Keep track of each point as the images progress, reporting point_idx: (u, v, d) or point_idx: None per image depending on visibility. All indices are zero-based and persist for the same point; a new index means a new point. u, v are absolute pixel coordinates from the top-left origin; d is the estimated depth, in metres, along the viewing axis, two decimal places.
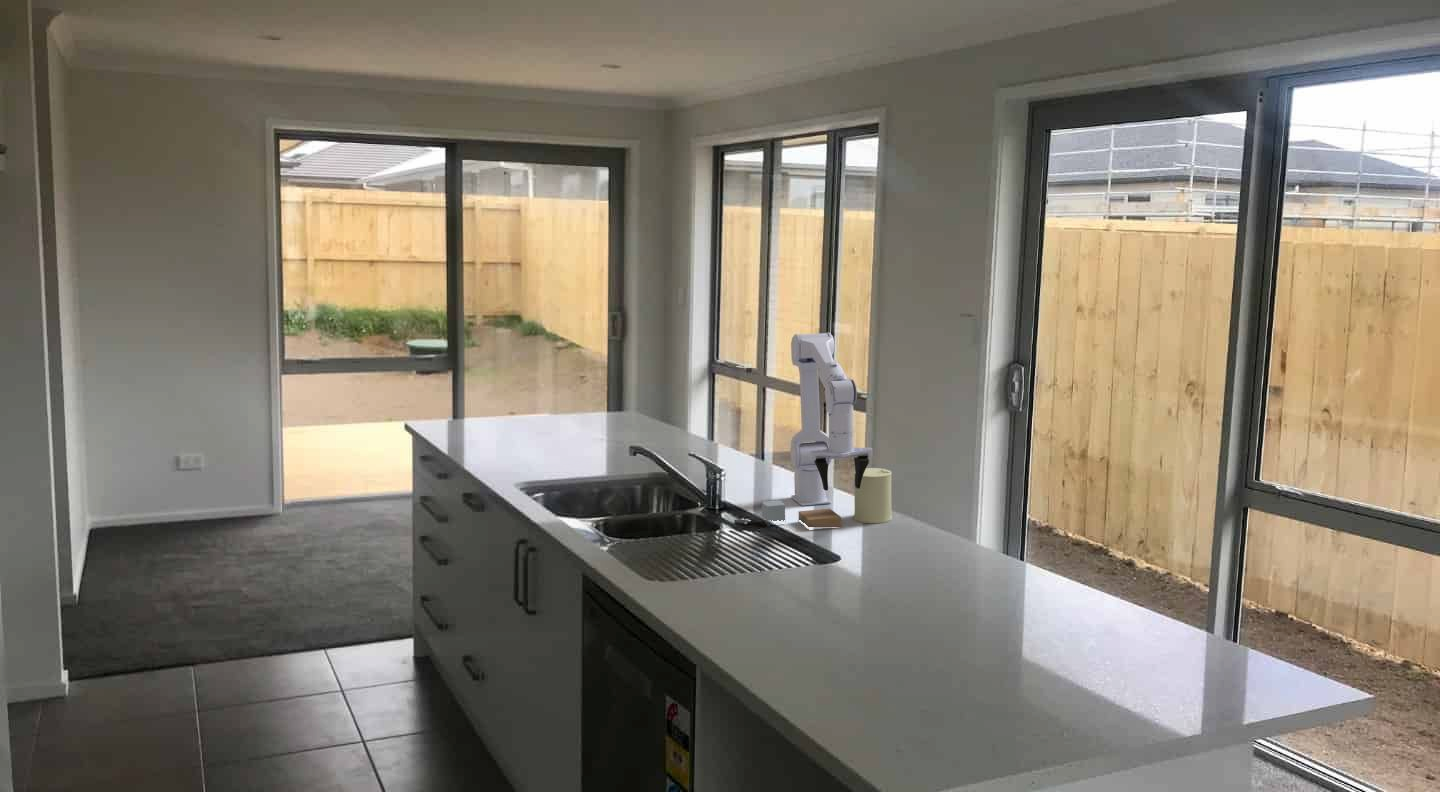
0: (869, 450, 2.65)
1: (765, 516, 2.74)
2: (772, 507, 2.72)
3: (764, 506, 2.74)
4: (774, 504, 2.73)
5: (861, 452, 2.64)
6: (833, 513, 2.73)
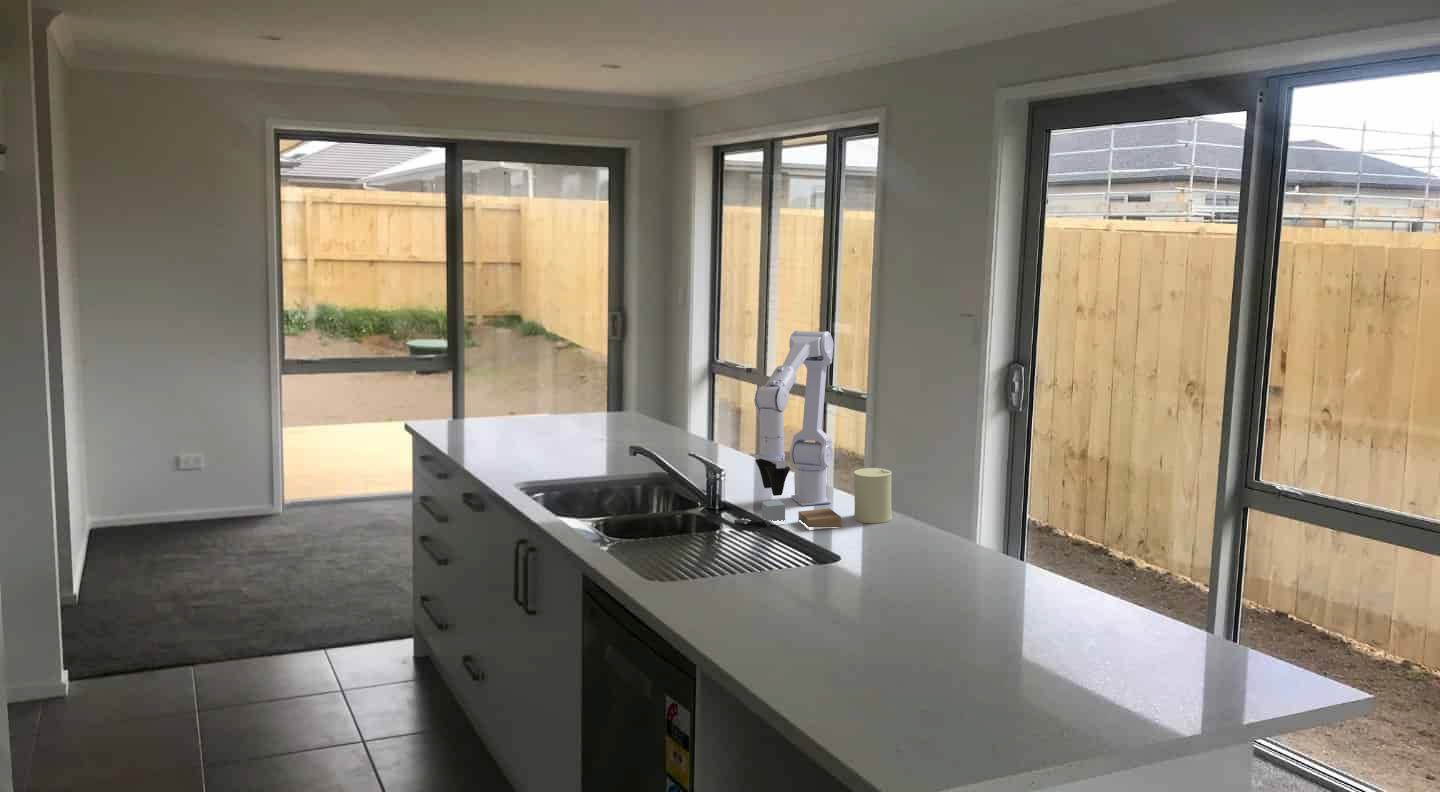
0: (775, 460, 2.66)
1: (765, 516, 2.74)
2: (772, 507, 2.72)
3: (764, 506, 2.74)
4: (774, 504, 2.73)
5: (770, 460, 2.68)
6: (833, 513, 2.73)
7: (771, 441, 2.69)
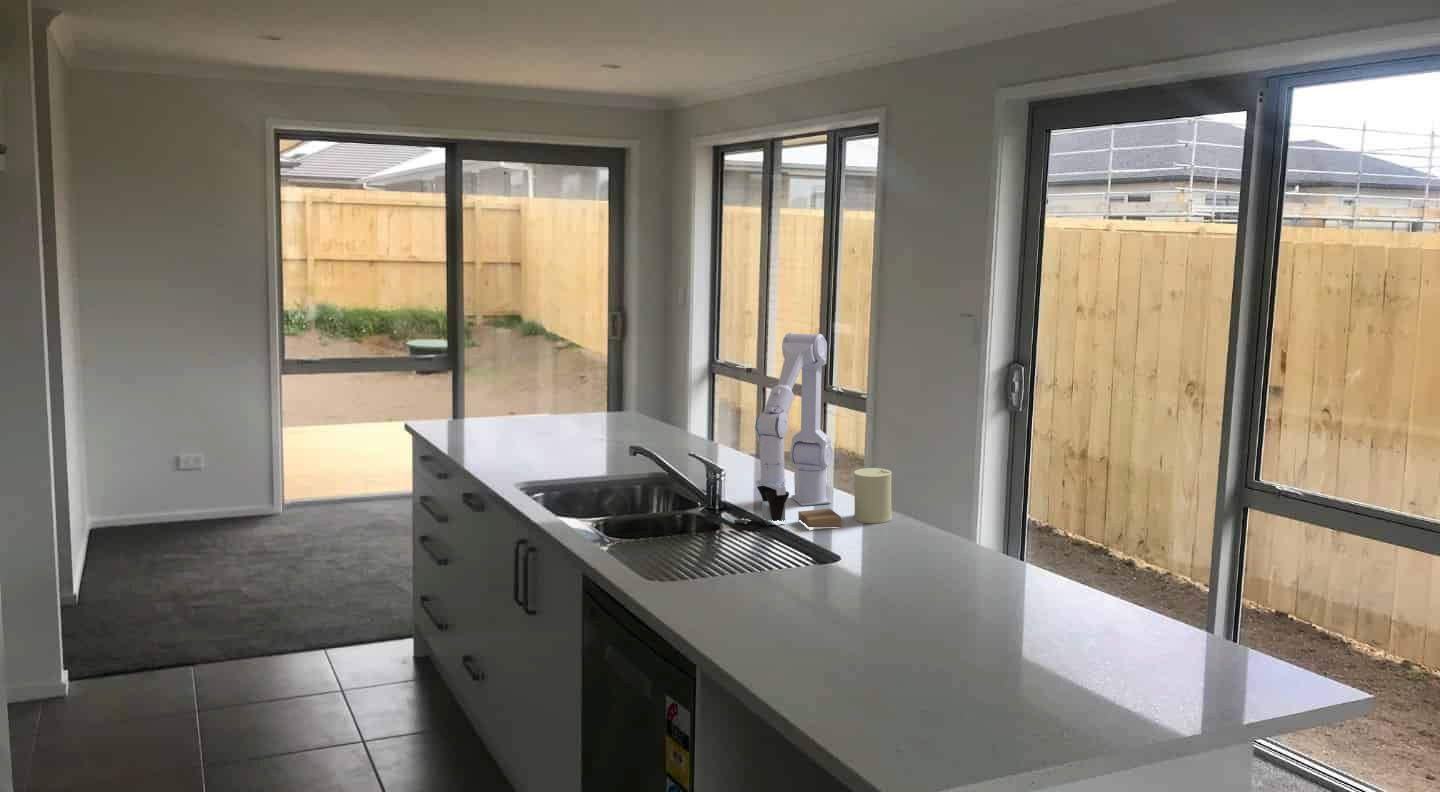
0: (776, 487, 2.67)
1: (765, 516, 2.74)
2: None
3: (764, 506, 2.74)
4: None
5: (771, 486, 2.69)
6: (833, 513, 2.73)
7: (772, 468, 2.70)
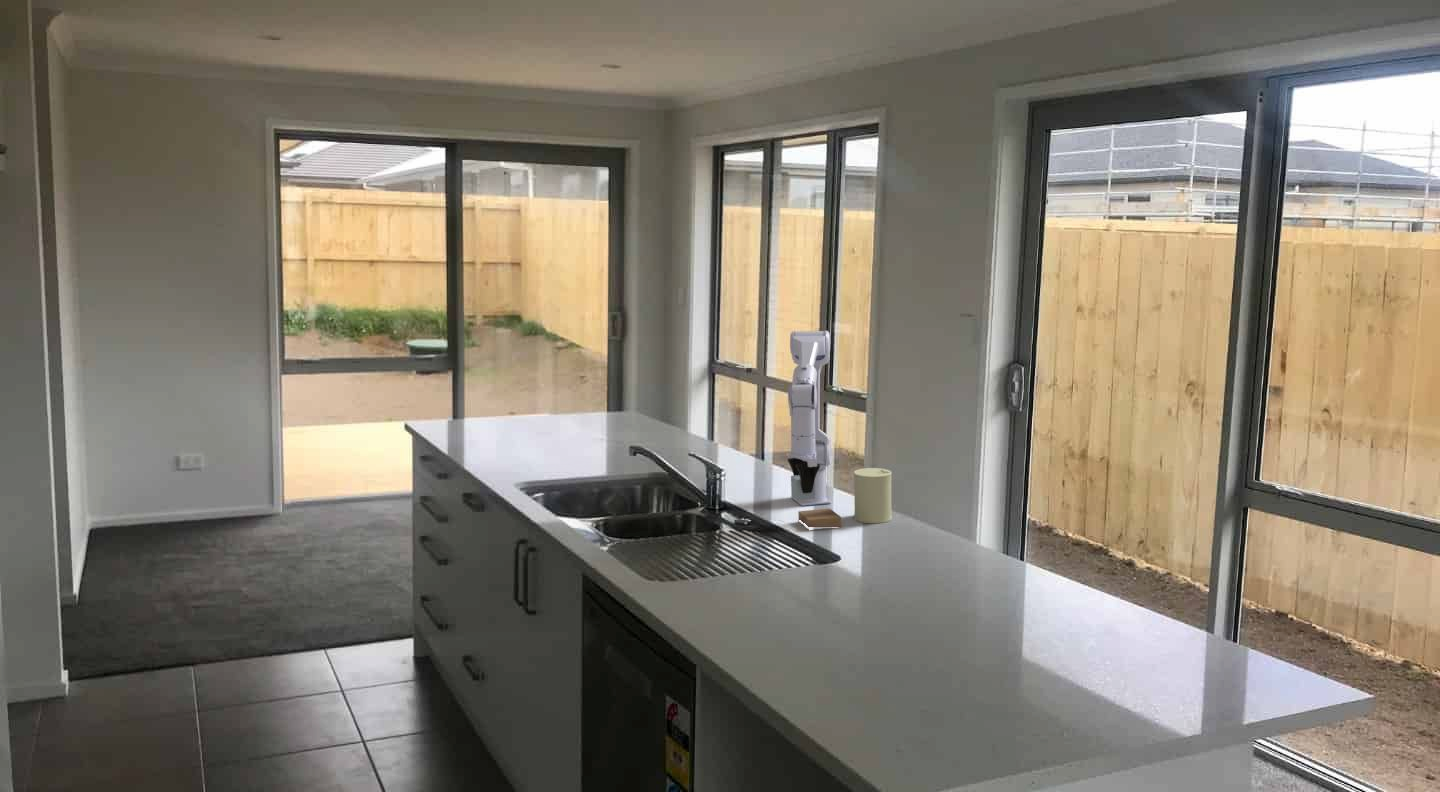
0: (807, 459, 2.64)
1: (794, 490, 2.71)
2: None
3: (793, 480, 2.71)
4: None
5: (802, 458, 2.66)
6: (833, 513, 2.73)
7: (803, 439, 2.67)
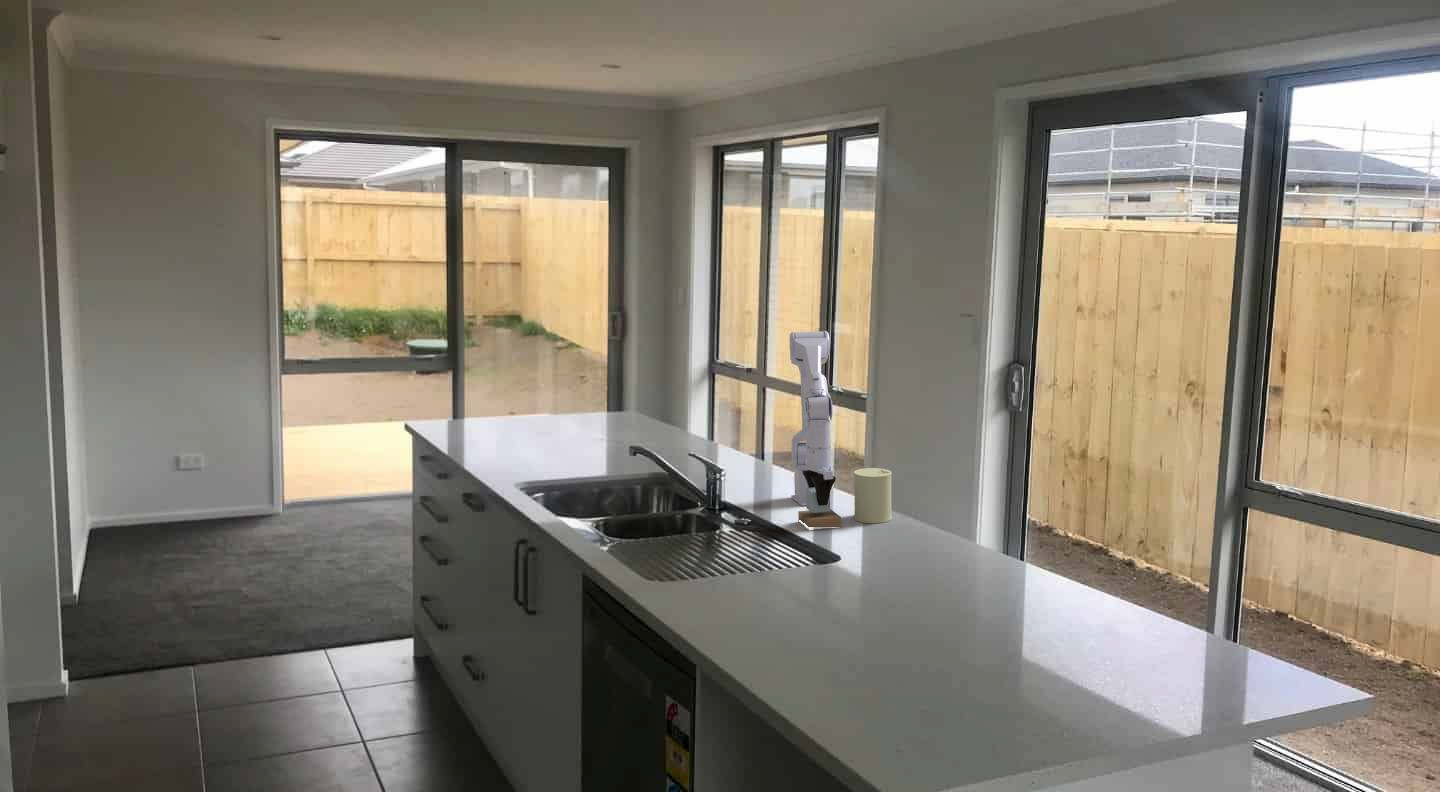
0: (823, 472, 2.64)
1: (810, 502, 2.70)
2: None
3: (809, 492, 2.71)
4: None
5: (818, 471, 2.66)
6: (833, 513, 2.73)
7: (818, 452, 2.67)
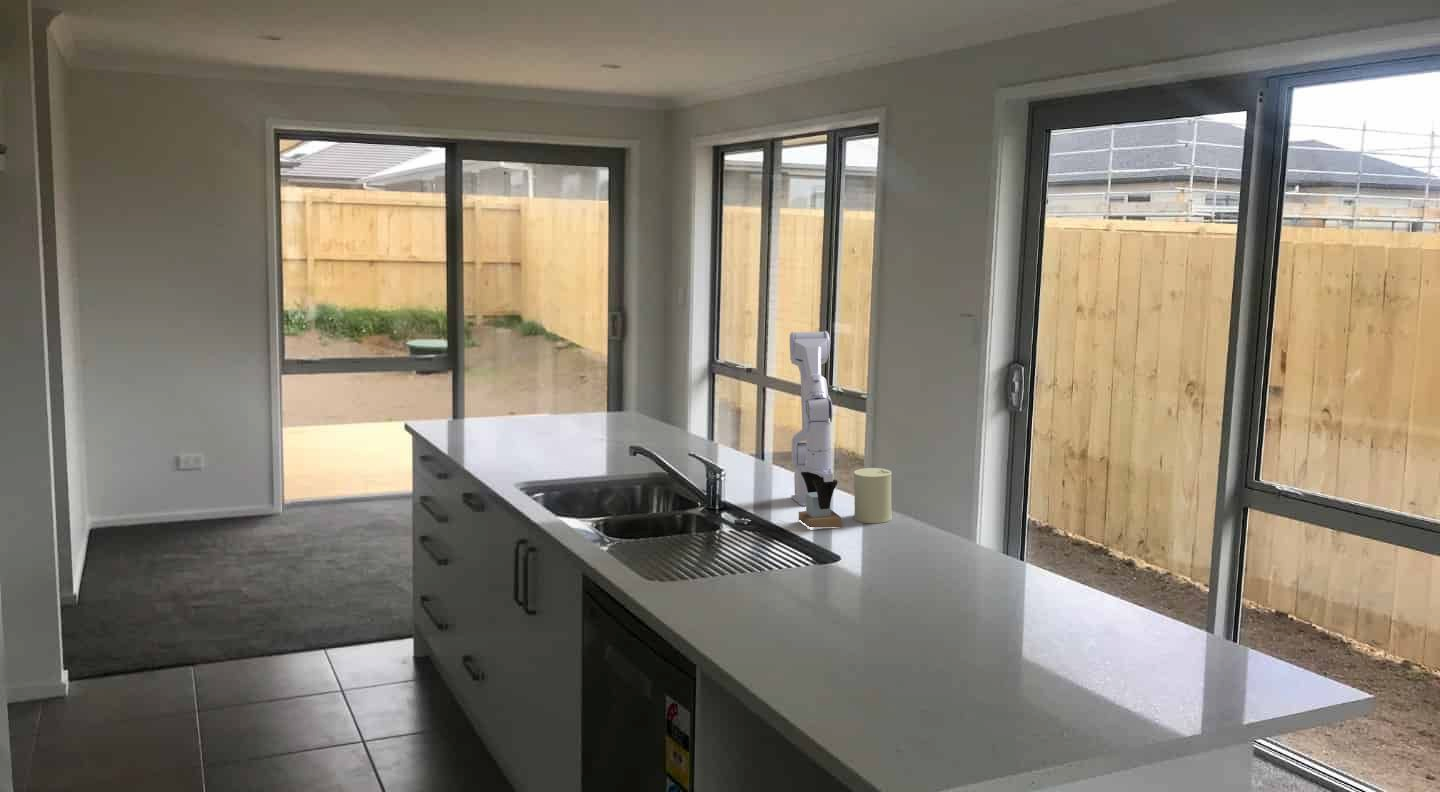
0: (823, 474, 2.64)
1: (810, 507, 2.71)
2: (817, 498, 2.69)
3: (809, 497, 2.71)
4: None
5: (818, 473, 2.66)
6: (833, 513, 2.73)
7: (818, 454, 2.67)
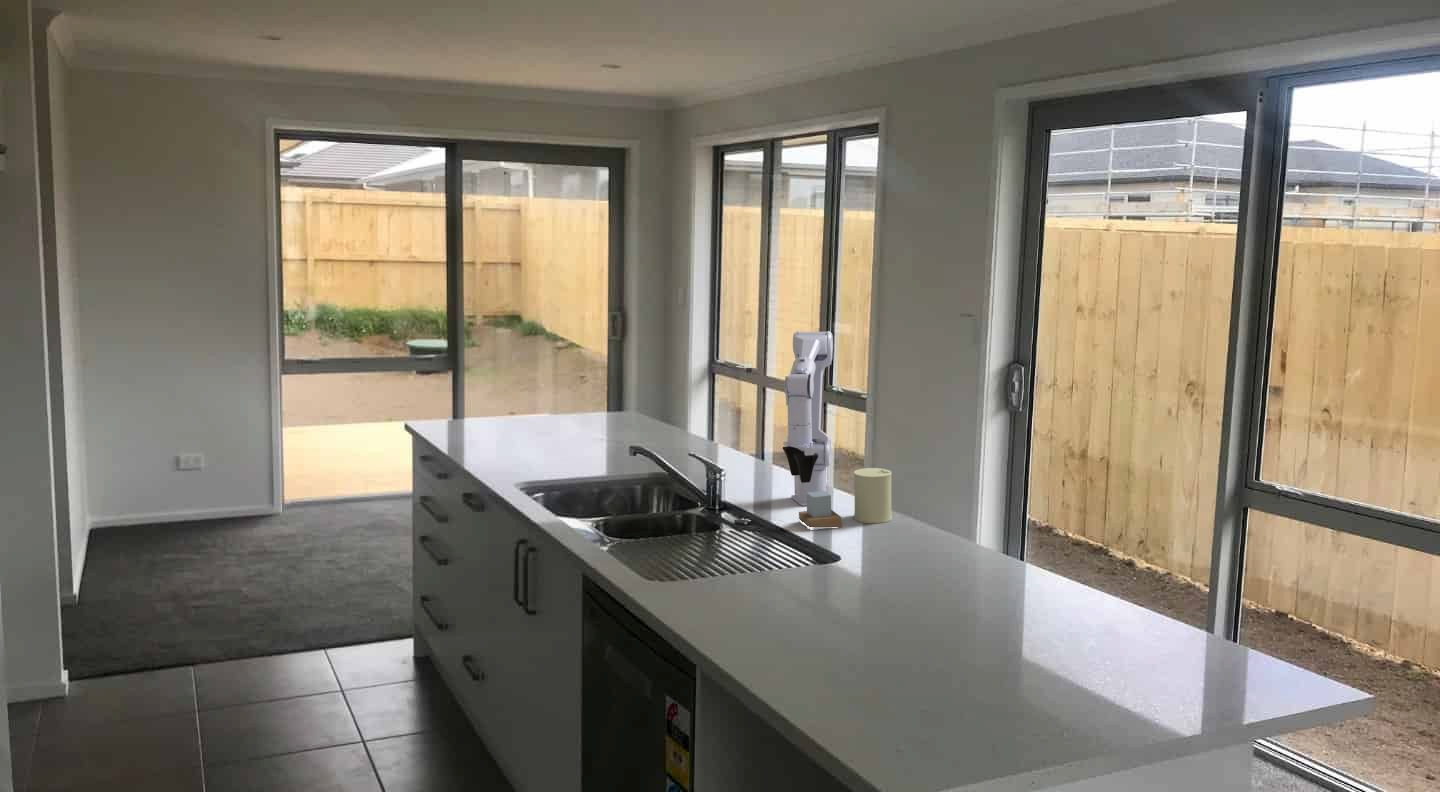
0: (804, 448, 2.67)
1: (811, 507, 2.71)
2: (818, 498, 2.69)
3: (809, 497, 2.71)
4: (820, 495, 2.70)
5: (799, 447, 2.69)
6: (833, 513, 2.72)
7: (799, 428, 2.70)
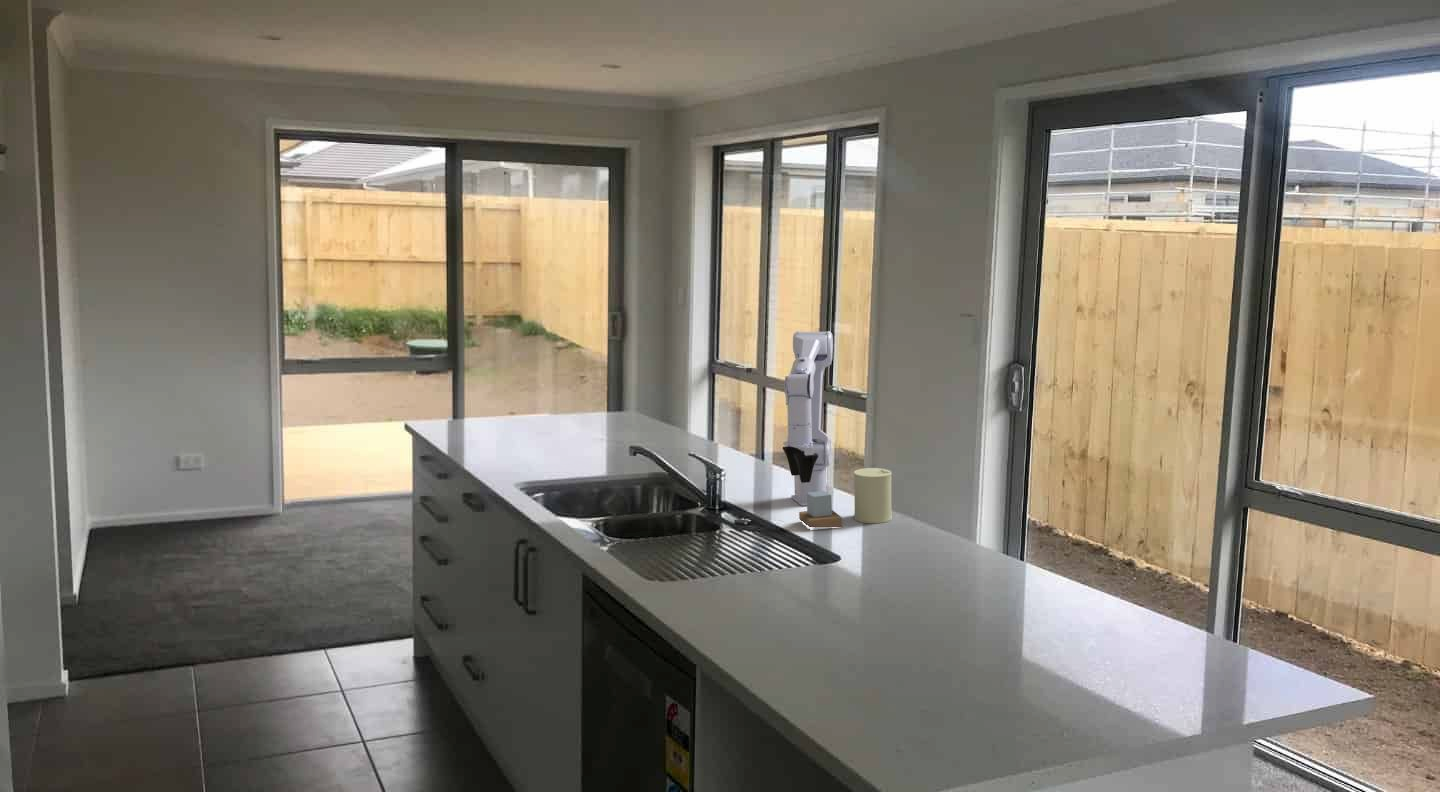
0: (804, 448, 2.67)
1: (811, 507, 2.70)
2: (819, 497, 2.69)
3: (810, 497, 2.71)
4: (820, 494, 2.70)
5: (799, 447, 2.69)
6: (834, 513, 2.72)
7: (799, 428, 2.70)
